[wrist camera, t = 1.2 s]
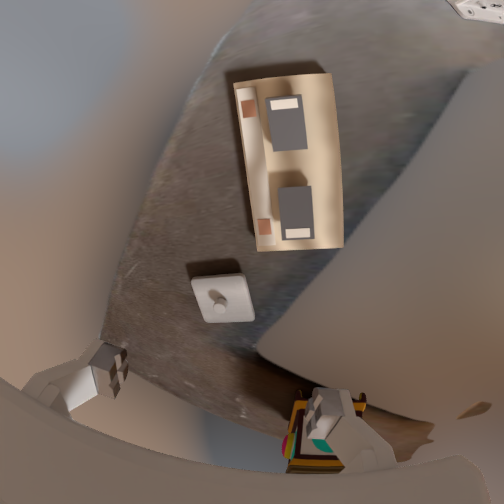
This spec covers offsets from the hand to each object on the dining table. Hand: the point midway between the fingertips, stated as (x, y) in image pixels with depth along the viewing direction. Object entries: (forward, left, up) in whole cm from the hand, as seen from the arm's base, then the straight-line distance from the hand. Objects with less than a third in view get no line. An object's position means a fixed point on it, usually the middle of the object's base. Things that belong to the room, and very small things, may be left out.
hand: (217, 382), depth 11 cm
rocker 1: (-2, -9, -30) cm, 31 cm away
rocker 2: (-2, +3, -30) cm, 30 cm away
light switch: (+12, +19, -35) cm, 42 cm away
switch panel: (-2, -3, -35) cm, 35 cm away
